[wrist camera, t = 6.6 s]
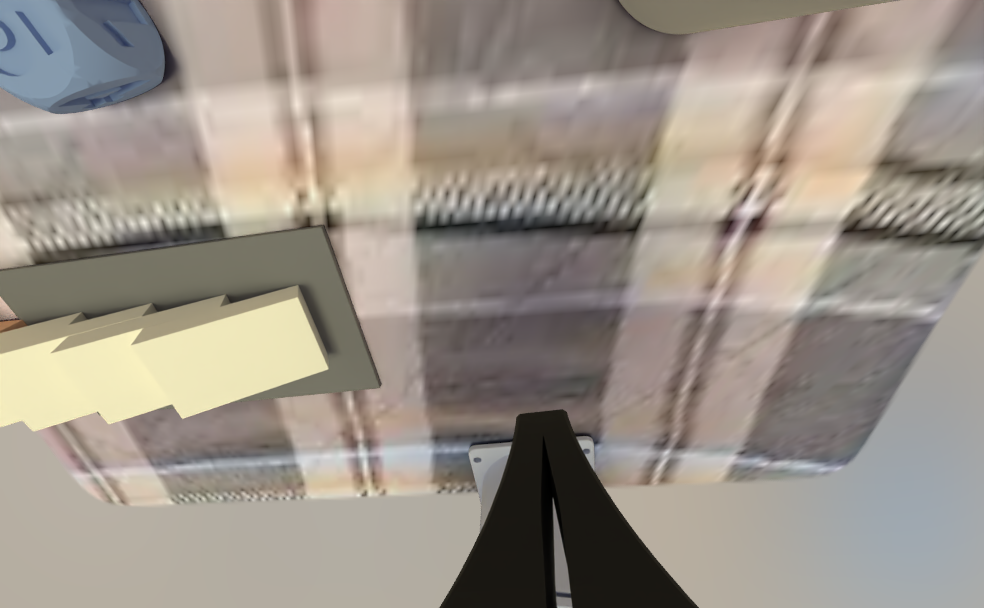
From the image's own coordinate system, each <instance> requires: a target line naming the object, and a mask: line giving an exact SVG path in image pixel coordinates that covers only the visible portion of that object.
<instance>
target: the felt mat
mask: <svg viewBox="0 0 984 608" xmlns="http://www.w3.org/2000/svg"><path fill="white" fill-rule="evenodd" d="M296 285H298V286H299V288H300V290H301V293H302V295H303V297H304V300H305V302H306V304H307V307H308V309H309V312H310V314H311V316H312V319H313V321H314V323H315V326H316V328H317V330H318V333H319V335H320V337H321V340H322V342H323V344H324V347H325V349H326V352H327V354H328V367H329V369H328V370H325V371H322V372H319V373H316V374H313V375H310V376H307V377H304V378H301V379H298V380H295V381H292V382H289V383H286V384H283V385H280V386H278V387H275V388H272V389H269V390H266V391H263V392H260V393H257V394H254V395H251V396H248V397H245V398H242V399H239V400H236V401H233V402H242V401H253V400H263V399H273V398H283V397H293V396H303V395H314V394H324V393H334V392H344V391H354V390H365V389H375V388H380V386H381V383H380V380H379V377H378V374H377V372H376V369H375V366H374V363H373V361H372V358H371V355H370V352H369V349H368V347H367V344H366V341H365V338H364V336H363V333H362V330H361V327H360V325H359V322H358V319H357V316H356V313H355V311H354V308H353V305H352V302H351V300H350V297H349V294H348V291H347V289H346V286H345V283H344V280H343V277H342V275H341V272H340V269H339V266H338V264H337V261H336V258H335V255H334V253H333V250H332V247H331V244H330V241H329V239H328V236H327V233H326V230H325V228H324V225H321V226H314V227H306V228H299V229H292V230H285V231H277V232H270V233H263V234H256V235H249V236H241V237H234V238H227V239H220V240H212V241H205V242H198V243H191V244H184V245H176V246H169V247H162V248H155V249H147V250H140V251H133V252H126V253H119V254H111V255H104V256H97V257H90V258H82V259H75V260H68V261H61V262H53V263H46V264H39V265H32V266H25V267H17V268H10V269H3V270H0V297H1V298H2V299H3V300H4V301H5V303H6V304H7V305H8V306H9V307H10V309H11V310H12V311H13V312H14V313H15V314H16V316H17V317H18V318H19V319H20V320H23V321H24V322H25V323H26V325H27V326H30V325H34V324H37V323H41V322H45V321H49V320H53V319H57V318H61V317H65V316H69V315H72V314H76V313H80V312H82V313H83V314H84V316H85V317H86V318H87V320H89V319H93V318H97V317H101V316H105V315H108V314H112V313H116V312H120V311H124V310H127V309H131V308H135V307H139V306H143V305H147V304H150V303H152V304H153V306H154V307H155V309H156V310H157V312H161V311H165V310H168V309H172V308H176V307H180V306H183V305H187V304H191V303H195V302H198V301H202V300H206V299H209V298H213V297H217V296H221V295H224V294H226V296H227V297H228V299H229V301H230V303H231V304H232V303H235V302H239V301H243V300H246V299H250V298H253V297H257V296H260V295H264V294H267V293H271V292H275V291H278V290H282V289H285V288H289V287H292V286H296ZM230 403H232V402H230ZM171 408H174V406H173V405H172V404H171V405H168V406H165V407H162V408H159V409H156V410H161V409H171ZM97 413H98V414H99V415H100V413H99V412H97Z"/></svg>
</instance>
